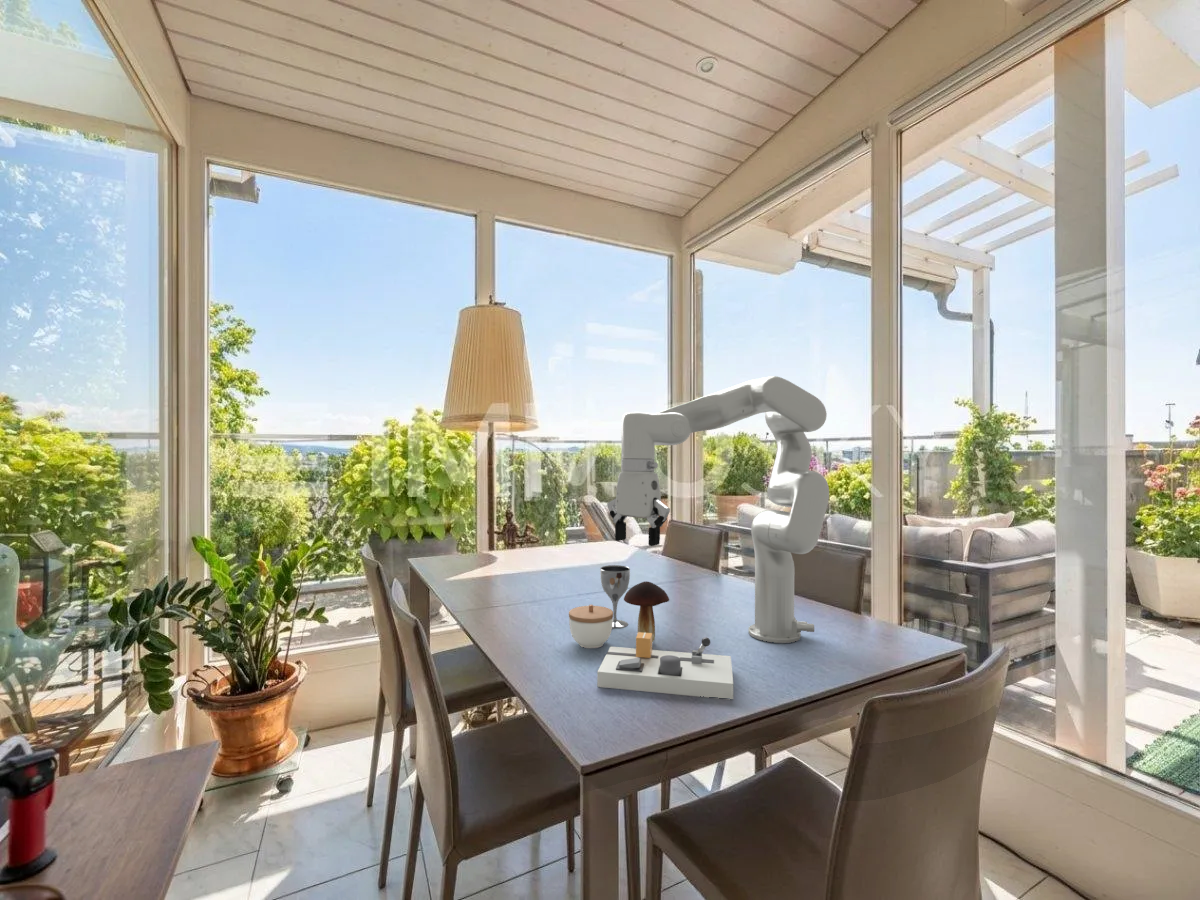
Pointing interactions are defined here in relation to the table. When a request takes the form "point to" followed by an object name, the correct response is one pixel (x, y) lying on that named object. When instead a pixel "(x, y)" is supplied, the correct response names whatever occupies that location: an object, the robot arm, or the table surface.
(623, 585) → the wine glass
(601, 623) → the lidded jar
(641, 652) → the slider
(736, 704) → the table surface
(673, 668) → the button
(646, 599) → the decorative mushroom
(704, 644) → the lever
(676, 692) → the panel
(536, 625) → the table surface
